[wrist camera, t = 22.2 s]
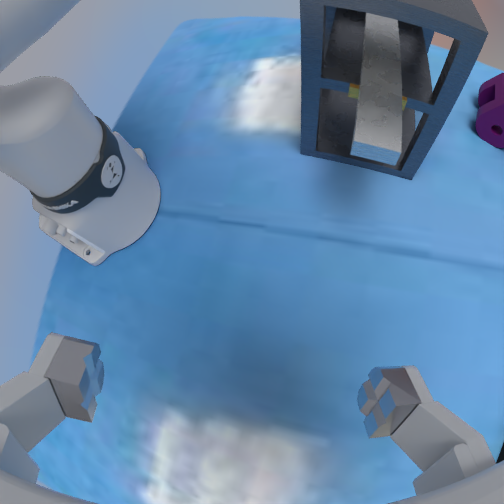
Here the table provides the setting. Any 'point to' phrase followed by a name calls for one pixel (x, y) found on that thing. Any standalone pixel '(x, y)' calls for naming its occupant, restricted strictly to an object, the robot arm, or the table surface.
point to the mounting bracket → (491, 111)
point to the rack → (412, 69)
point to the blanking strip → (379, 93)
